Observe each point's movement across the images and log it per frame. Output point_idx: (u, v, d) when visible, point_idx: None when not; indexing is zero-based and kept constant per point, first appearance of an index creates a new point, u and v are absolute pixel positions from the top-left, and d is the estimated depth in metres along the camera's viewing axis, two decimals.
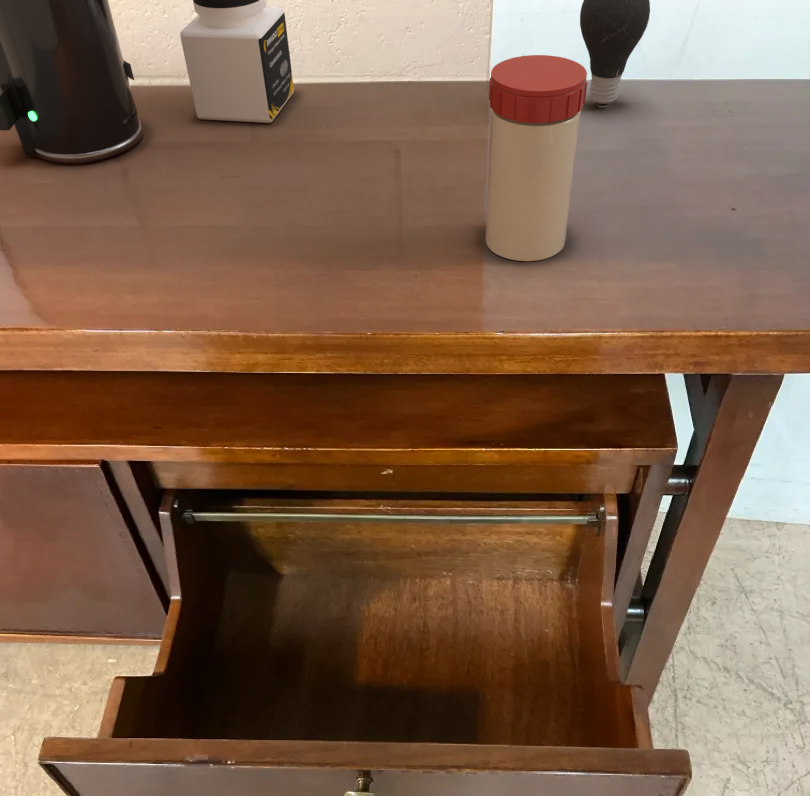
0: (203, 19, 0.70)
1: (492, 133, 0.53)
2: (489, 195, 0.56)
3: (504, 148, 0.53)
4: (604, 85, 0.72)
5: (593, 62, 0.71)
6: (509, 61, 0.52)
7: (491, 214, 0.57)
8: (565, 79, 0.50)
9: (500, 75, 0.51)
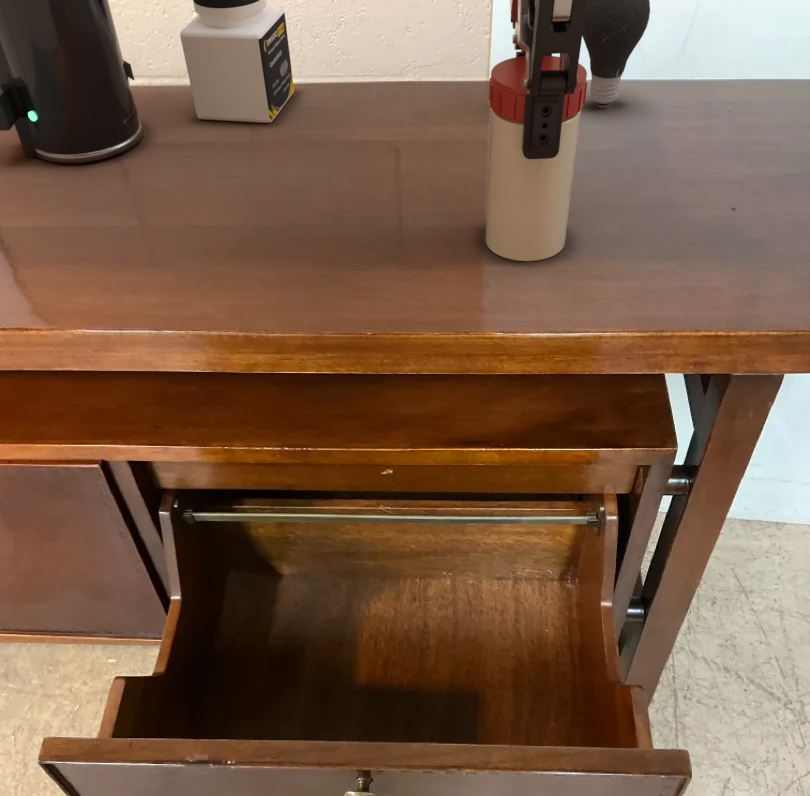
0: (203, 19, 0.70)
1: (492, 133, 0.53)
2: (489, 195, 0.56)
3: (504, 148, 0.53)
4: (604, 85, 0.72)
5: (593, 62, 0.71)
6: (509, 61, 0.52)
7: (491, 214, 0.57)
8: None
9: (500, 75, 0.51)
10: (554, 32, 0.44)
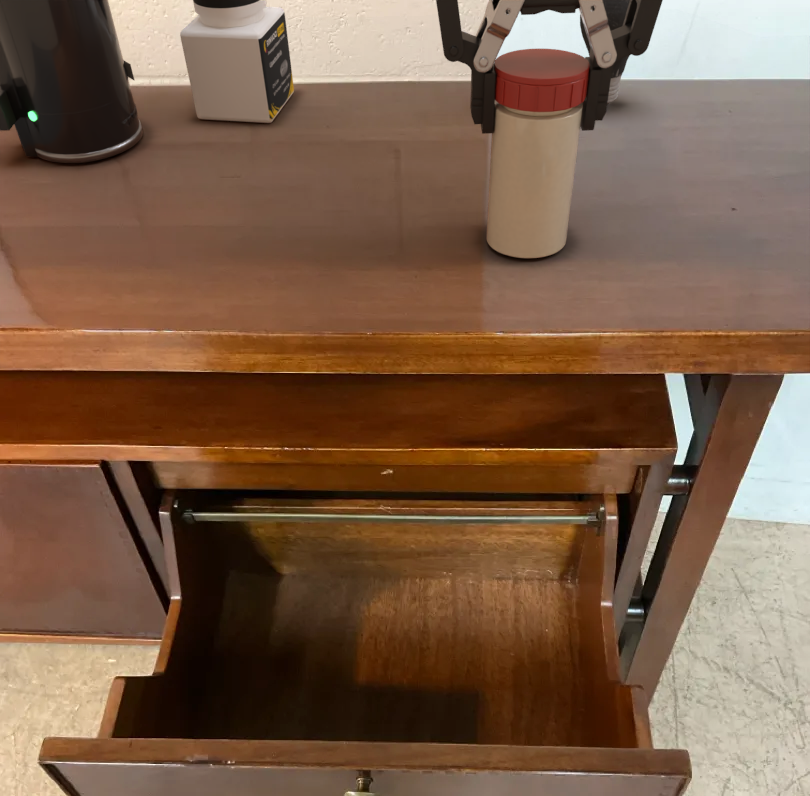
0: (203, 19, 0.70)
1: (494, 128, 0.53)
2: (491, 192, 0.56)
3: (507, 143, 0.53)
4: None
5: None
6: (512, 72, 0.50)
7: (493, 211, 0.57)
8: (560, 54, 0.52)
9: (552, 75, 0.49)
10: None
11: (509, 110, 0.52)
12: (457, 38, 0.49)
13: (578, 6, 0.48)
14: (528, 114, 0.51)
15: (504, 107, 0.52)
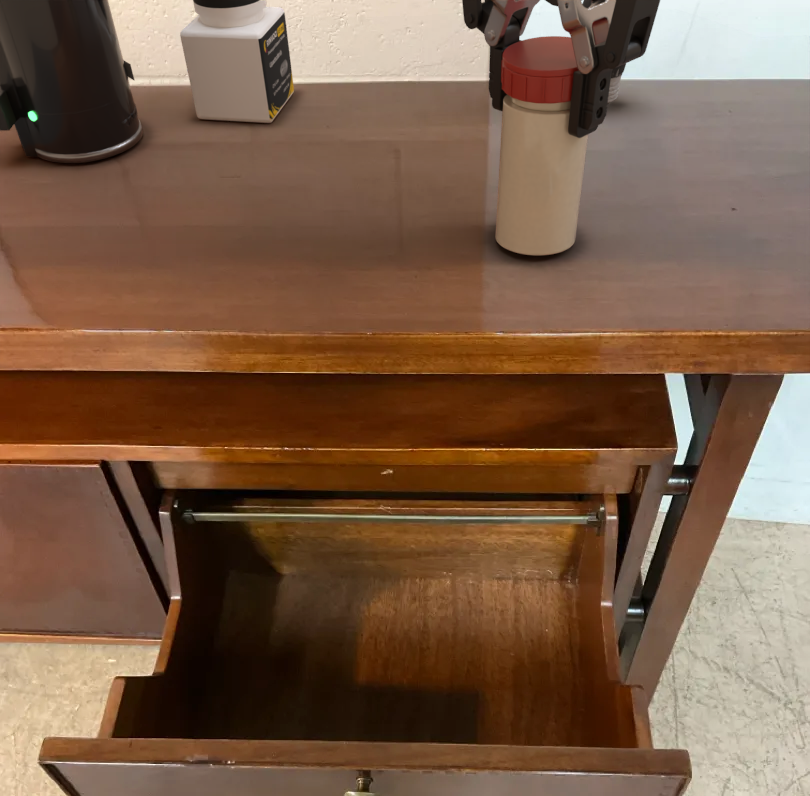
0: (203, 19, 0.70)
1: (508, 128, 0.53)
2: (504, 192, 0.56)
3: (525, 140, 0.52)
4: None
5: None
6: None
7: (508, 211, 0.56)
8: (518, 54, 0.51)
9: (571, 40, 0.52)
10: None
11: (524, 108, 0.52)
12: None
13: None
14: (545, 110, 0.51)
15: (517, 105, 0.52)
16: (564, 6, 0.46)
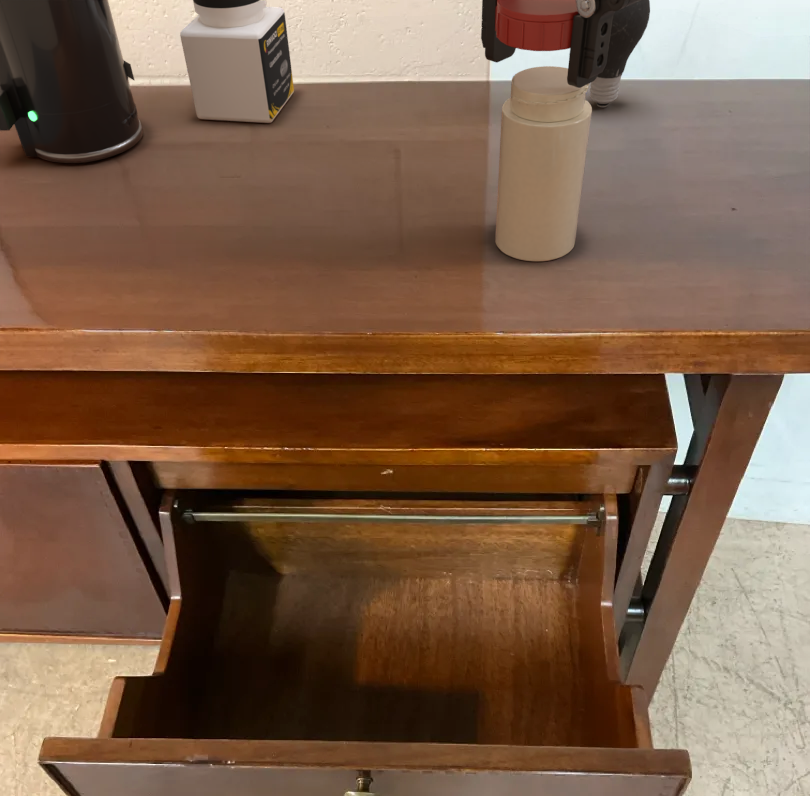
0: (203, 19, 0.70)
1: (507, 137, 0.53)
2: (503, 199, 0.56)
3: (524, 151, 0.52)
4: (604, 85, 0.72)
5: None
6: None
7: (507, 218, 0.56)
8: (513, 0, 0.48)
9: None
10: None
11: (523, 118, 0.51)
12: None
13: None
14: (544, 121, 0.51)
15: (516, 115, 0.52)
16: None
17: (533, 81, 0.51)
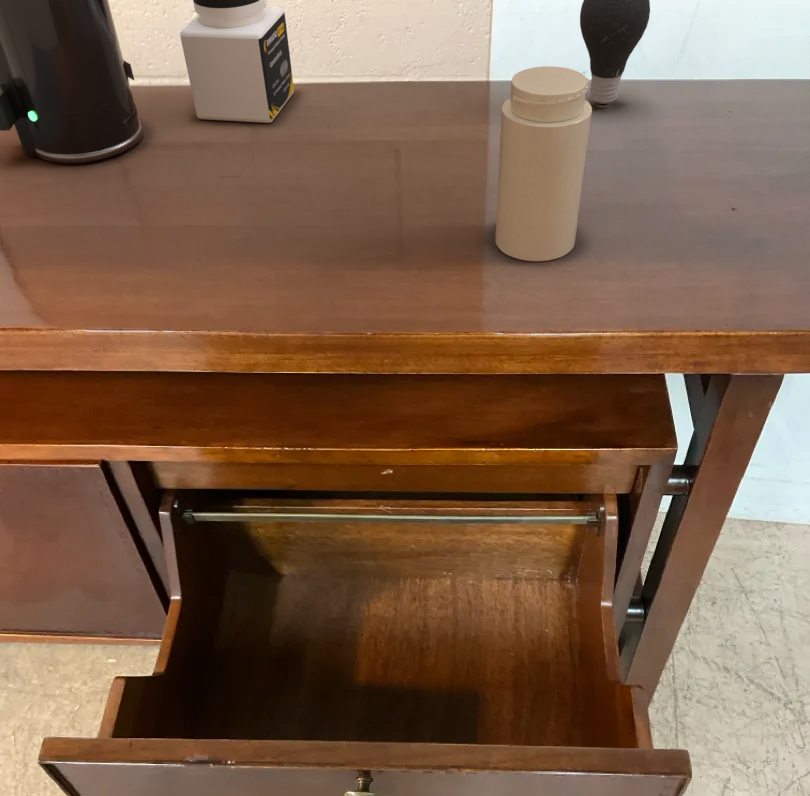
0: (203, 19, 0.70)
1: (507, 137, 0.53)
2: (503, 199, 0.56)
3: (524, 151, 0.52)
4: (604, 85, 0.72)
5: (593, 62, 0.71)
6: None
7: (507, 218, 0.56)
8: None
9: None
10: None
11: (523, 118, 0.51)
12: None
13: None
14: (544, 121, 0.51)
15: (516, 115, 0.52)
16: None
17: (533, 81, 0.51)
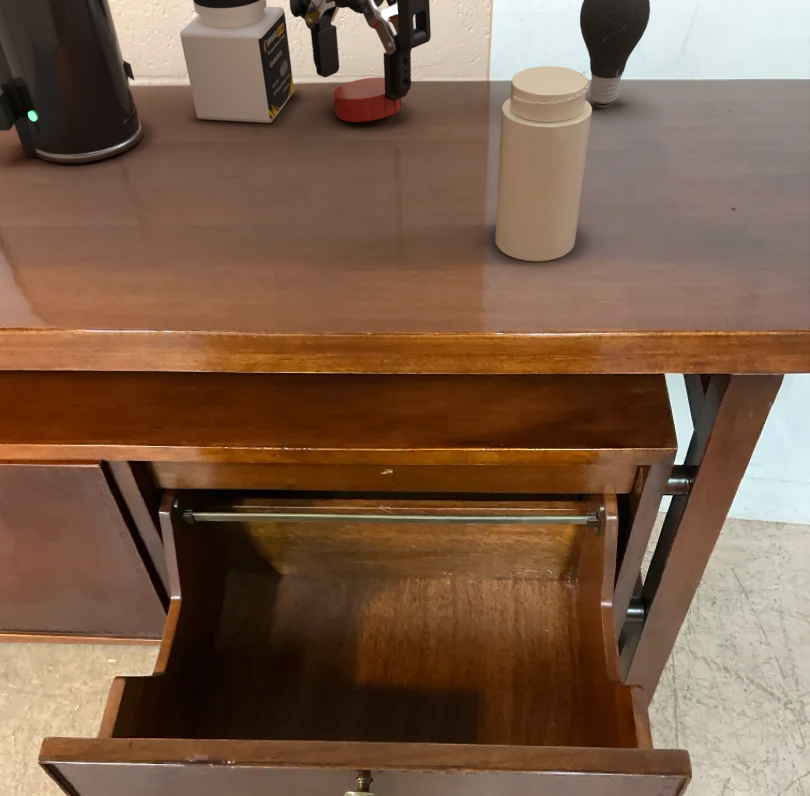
0: (203, 19, 0.70)
1: (507, 137, 0.53)
2: (503, 199, 0.56)
3: (524, 151, 0.52)
4: (604, 85, 0.72)
5: (593, 62, 0.71)
6: None
7: (507, 218, 0.56)
8: (343, 90, 0.73)
9: (382, 79, 0.74)
10: None
11: (523, 118, 0.51)
12: None
13: None
14: (544, 121, 0.51)
15: (516, 115, 0.52)
16: (365, 11, 0.67)
17: (533, 81, 0.51)
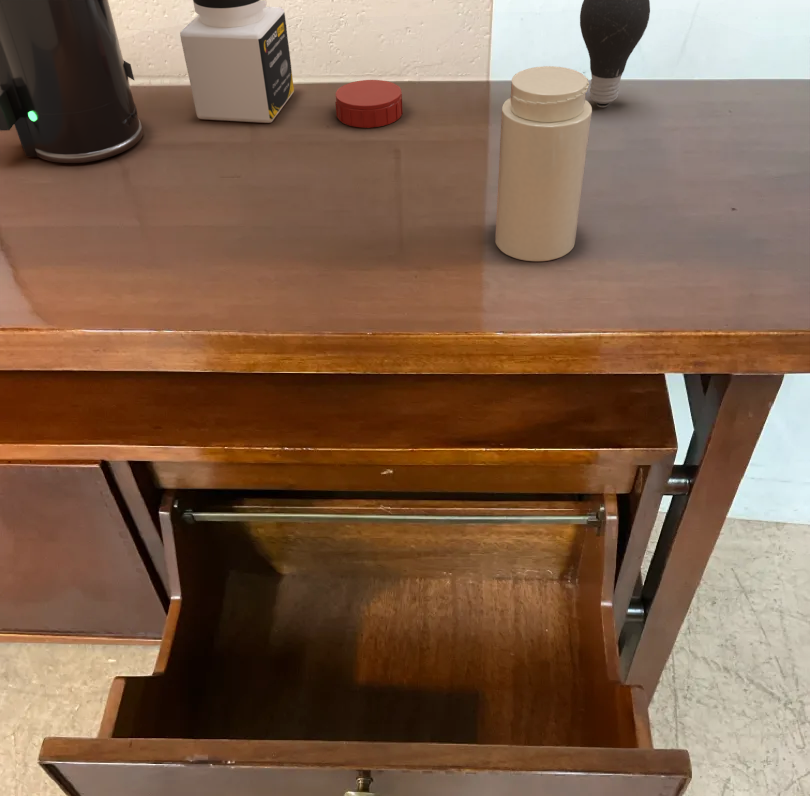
0: (203, 19, 0.70)
1: (507, 137, 0.53)
2: (503, 199, 0.56)
3: (524, 151, 0.52)
4: (604, 85, 0.72)
5: (593, 62, 0.71)
6: (397, 92, 0.73)
7: (507, 218, 0.56)
8: (345, 93, 0.73)
9: (384, 83, 0.75)
10: None
11: (523, 118, 0.51)
12: None
13: None
14: (544, 121, 0.51)
15: (516, 115, 0.52)
16: None
17: (533, 81, 0.51)
